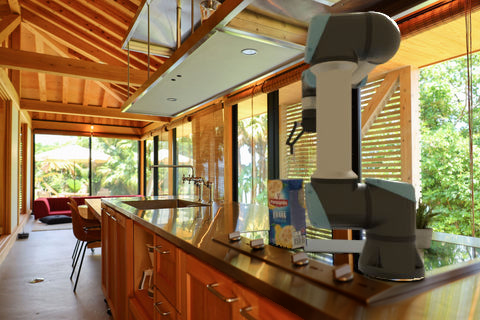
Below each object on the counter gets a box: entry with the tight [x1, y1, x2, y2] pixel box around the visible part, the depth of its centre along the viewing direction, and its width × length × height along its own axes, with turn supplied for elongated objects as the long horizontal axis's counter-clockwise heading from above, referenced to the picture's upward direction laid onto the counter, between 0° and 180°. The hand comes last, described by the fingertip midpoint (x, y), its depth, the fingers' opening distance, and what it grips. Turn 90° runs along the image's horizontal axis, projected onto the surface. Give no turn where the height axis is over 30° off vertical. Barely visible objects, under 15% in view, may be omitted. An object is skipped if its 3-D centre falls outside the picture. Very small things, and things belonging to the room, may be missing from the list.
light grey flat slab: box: [302, 238, 365, 255], centre depth 112 cm, size 18×22×1 cm
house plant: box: [416, 197, 445, 249], centre depth 112 cm, size 14×14×16 cm
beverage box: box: [266, 178, 308, 250], centre depth 115 cm, size 7×11×22 cm, turn 35°
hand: (311, 163), depth 133 cm, fingers open, 13 cm apart
